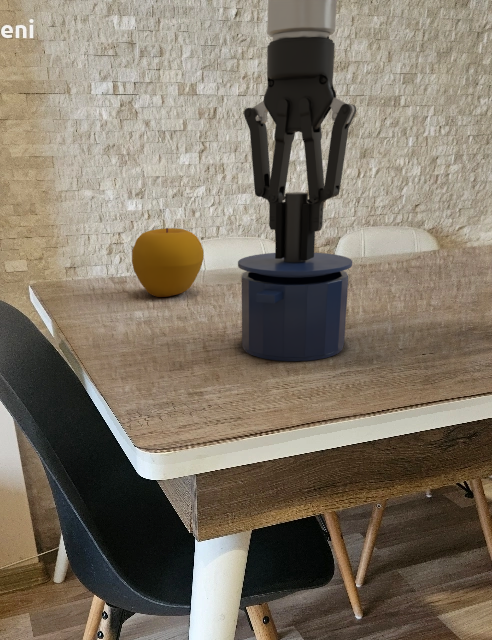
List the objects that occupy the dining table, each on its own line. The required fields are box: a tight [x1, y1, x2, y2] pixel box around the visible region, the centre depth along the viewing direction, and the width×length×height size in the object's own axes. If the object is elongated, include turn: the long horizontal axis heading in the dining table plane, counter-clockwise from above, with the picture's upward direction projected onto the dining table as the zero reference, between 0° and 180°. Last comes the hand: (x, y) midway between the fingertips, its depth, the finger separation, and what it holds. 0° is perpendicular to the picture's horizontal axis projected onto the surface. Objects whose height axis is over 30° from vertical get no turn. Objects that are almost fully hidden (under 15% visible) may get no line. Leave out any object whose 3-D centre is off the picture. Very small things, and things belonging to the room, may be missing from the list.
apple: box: [131, 227, 204, 298], centre depth 119 cm, size 13×13×11 cm
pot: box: [241, 270, 349, 362], centre depth 88 cm, size 14×19×10 cm
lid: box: [237, 191, 353, 278], centre depth 84 cm, size 15×15×9 cm
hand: (294, 257), depth 85 cm, fingers closed on lid, 3 cm apart
